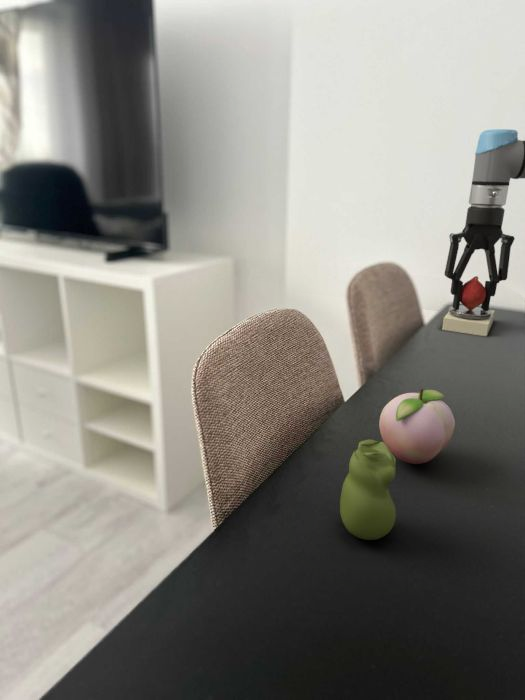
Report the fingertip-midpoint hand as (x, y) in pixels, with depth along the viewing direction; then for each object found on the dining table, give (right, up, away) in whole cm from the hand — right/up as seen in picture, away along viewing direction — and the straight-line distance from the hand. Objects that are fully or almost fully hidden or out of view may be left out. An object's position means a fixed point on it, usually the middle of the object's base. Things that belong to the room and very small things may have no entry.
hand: (470, 308), depth 120 cm
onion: (0, 0, 0) cm, 0 cm away
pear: (-38, -28, -69) cm, 83 cm away
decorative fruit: (-30, -24, -56) cm, 68 cm away
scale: (+1, -4, +3) cm, 5 cm away
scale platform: (0, -1, 0) cm, 1 cm away
